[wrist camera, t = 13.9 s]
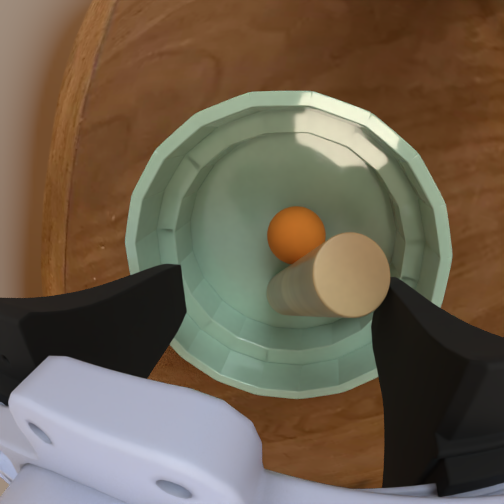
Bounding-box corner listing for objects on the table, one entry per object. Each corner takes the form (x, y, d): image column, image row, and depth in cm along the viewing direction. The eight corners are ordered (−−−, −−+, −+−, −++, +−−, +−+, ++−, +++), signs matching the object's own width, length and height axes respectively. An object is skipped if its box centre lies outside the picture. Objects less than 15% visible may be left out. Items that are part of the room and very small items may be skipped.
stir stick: (288, 324, 17) (354, 335, 8) (257, 292, 17) (294, 273, 8) (318, 293, 18) (405, 274, 9) (288, 262, 18) (351, 214, 9)
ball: (322, 193, 15) (314, 234, 17) (265, 194, 15) (263, 235, 17) (337, 235, 14) (325, 275, 16) (272, 237, 13) (268, 278, 15)
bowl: (396, 346, 19) (409, 402, 14) (184, 330, 21) (153, 377, 17) (426, 112, 14) (466, 107, 9) (163, 111, 16) (112, 109, 12)
